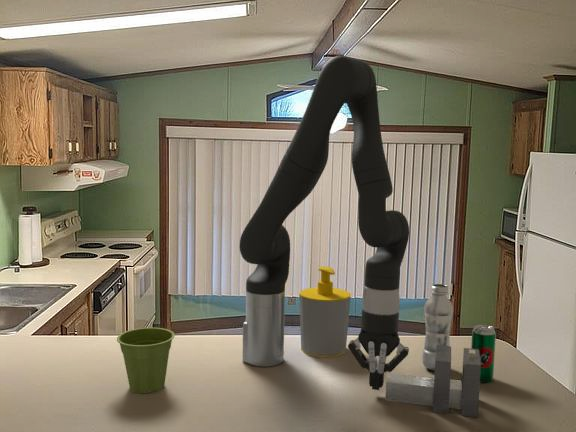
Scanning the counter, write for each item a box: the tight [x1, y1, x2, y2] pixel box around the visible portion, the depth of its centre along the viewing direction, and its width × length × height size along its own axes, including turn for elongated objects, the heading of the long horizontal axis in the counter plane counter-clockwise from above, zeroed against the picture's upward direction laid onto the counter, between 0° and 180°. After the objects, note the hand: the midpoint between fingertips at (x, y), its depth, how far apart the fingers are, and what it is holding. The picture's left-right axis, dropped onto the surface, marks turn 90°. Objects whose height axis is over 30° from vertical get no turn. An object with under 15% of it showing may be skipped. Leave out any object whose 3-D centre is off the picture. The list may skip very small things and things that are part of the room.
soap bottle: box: [298, 266, 352, 358], centre depth 152 cm, size 13×13×21 cm
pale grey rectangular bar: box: [384, 372, 462, 410], centre depth 124 cm, size 15×5×4 cm, turn 77°
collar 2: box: [461, 347, 481, 418], centre depth 121 cm, size 3×9×12 cm, turn 165°
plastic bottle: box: [421, 283, 454, 371], centre depth 140 cm, size 6×7×20 cm
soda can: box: [470, 324, 497, 383], centre depth 135 cm, size 5×5×12 cm
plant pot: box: [116, 327, 176, 394], centre depth 127 cm, size 12×12×11 cm
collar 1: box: [432, 345, 452, 414], centre depth 122 cm, size 3×9×10 cm, turn 165°
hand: (376, 388), depth 126 cm, fingers closed
